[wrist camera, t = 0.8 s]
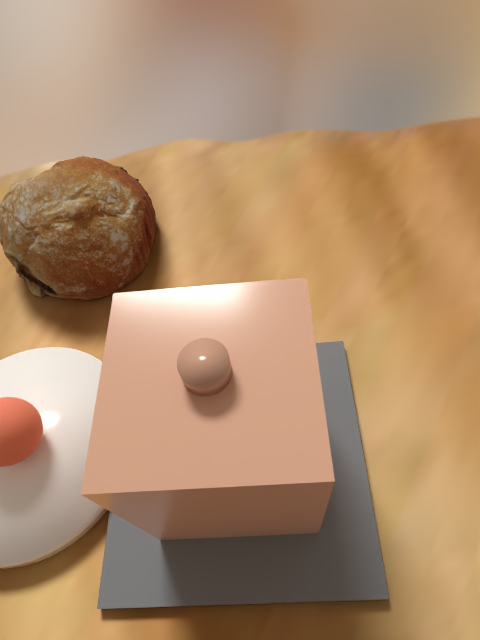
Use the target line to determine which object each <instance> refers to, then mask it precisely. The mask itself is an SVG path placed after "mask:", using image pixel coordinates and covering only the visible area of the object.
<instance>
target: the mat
mask: <svg viewBox="0 0 480 640" xmlns="http://www.w3.org/2000/svg"><path fill="white" fill-rule="evenodd" d="M316 349H317V357H318V364H319V371H320V378H321V385H322V392H323V400H324V407H325V414H326V421H327V428H328V435H329V443H330V450H331V457H332V464H333V471H334V478H335V483H334V486H333V489H332V492H331V496H330V499H329V502H328V505H327V509H326V512H325V515H324V518H323V521H322V525H321V528H320V531H319V533H312V534H290V535H267V536H244V537H222V538H199V539H176V540H159V539H157V538H156V537H154V536H152V535H150V534H149V533H147V532H145V531H143V530H142V529H140V528H138V527H136V526H135V525H133V524H131V523H129V522H128V521H126V520H124V519H122V518H121V517H119V516H117V515H115V514H114V513H112V512H109V519H108V527H107V535H106V543H105V551H104V559H103V567H102V575H101V583H100V591H99V599H98V606H97V609H118V608H147V607H177V606H206V605H236V604H266V603H295V602H325V601H354V600H384V599H389V593H388V588H387V582H386V576H385V571H384V565H383V560H382V554H381V549H380V543H379V538H378V532H377V526H376V521H375V515H374V510H373V504H372V499H371V493H370V488H369V482H368V476H367V471H366V465H365V460H364V454H363V449H362V443H361V437H360V432H359V426H358V421H357V415H356V410H355V404H354V399H353V393H352V387H351V382H350V376H349V371H348V365H347V360H346V354H345V348H344V343H343V341H339V342H326V343H316Z"/></svg>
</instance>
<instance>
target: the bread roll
mask: <svg viewBox="0 0 480 640" xmlns="http://www.w3.org/2000/svg"><path fill="white" fill-rule="evenodd" d="M155 231H156V226H155V210H154V208H153V205H152V202H151V199H150V197H149V196H148V193H147V192H146V191H145V190H144V188H143V187H142V185H141V184H140V183H139V182H138V179H135V178H133V177H132V176H130V175H129V174H128V173H127V171H126V170H124V169H123V168H122V167H118V166H114V165H112V164H110V163H108V162H105V161H103V160H100V159H96V158H89V157H77V158H75V159H71V160H65V161H59V162H58V163H56V164H55V165H54V166H53V167H52V168H51V169H50V170H47V171H44V172H43V173H41V174H39V175H38V176H36V177H34V178H30V179H27V180H24V181H21V182H18V183H15V184H13V185H12V186H11V187H10V189H9V190H8V191H7V193H6V194H5V196H4V197H3V199H2V201H1V203H0V242H1V245H2V246H3V250H4V253H5V255H6V257H7V258H8V259H9V261H10V262H11V263H12V265H13V266H14V267H15V268H16V272H17V273H18V274H19V277H24V278H25V280H26V282H27V285H28V288H29V290H30V291H31V293H32V294H34V295H35V296H39V297H42V296H44V295H50V296H52V297H57V298H69V299H85V300H92V299H97V298H103V297H106V296H109V295H111V294H113V293H115V292H117V291H119V290H120V289H122V288H124V287H125V286H126V285H128V284H129V283H130V282H131V281H133V280H134V279H135V278H136V277H137V276H138V275H139V274H140V273H141V272H142V271H143V270H144V269H145V267H146V265H147V261H148V259H149V257H150V252H151V250H152V246H153V241H154V237H155Z"/></svg>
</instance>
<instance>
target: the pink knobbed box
mask: <svg viewBox="0 0 480 640" xmlns="http://www.w3.org/2000/svg"><path fill="white" fill-rule="evenodd" d="M334 483H335V478H334V471H333V464H332V457H331V450H330V443H329V435H328V428H327V421H326V414H325V407H324V400H323V392H322V385H321V378H320V371H319V364H318V357H317V349H316V342H315V335H314V328H313V321H312V314H311V306H310V299H309V292H308V285H307V278H306V277H304V278H292V279H280V280H268V281H256V282H244V283H232V284H219V285H207V286H195V287H183V288H171V289H159V290H147V291H134V292H122V293H113V299H112V305H111V311H110V317H109V324H108V330H107V336H106V342H105V348H104V354H103V360H102V366H101V373H100V379H99V385H98V391H97V397H96V403H95V409H94V415H93V422H92V428H91V434H90V440H89V446H88V452H87V458H86V464H85V471H84V477H83V483H82V489H81V495H82V496H84V497H86V498H87V499H89V500H91V501H93V502H94V503H96V504H98V505H100V506H101V507H103V508H105V509H107V510H108V511H110V512H112V513H114V514H115V515H117V516H119V517H121V518H122V519H124V520H126V521H128V522H129V523H131V524H133V525H135V526H136V527H138V528H140V529H142V530H143V531H145V532H147V533H149V534H150V535H152V536H154V537H156V538H157V539H159V540H176V539H199V538H222V537H244V536H267V535H290V534H312V533H319V531H320V528H321V525H322V521H323V518H324V515H325V512H326V509H327V505H328V502H329V499H330V496H331V492H332V489H333V486H334Z"/></svg>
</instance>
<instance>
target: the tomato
mask: <svg viewBox="0 0 480 640" xmlns="http://www.w3.org/2000/svg"><path fill="white" fill-rule="evenodd" d="M42 434H43V422H42V418H41V416H40V414H39V412H38V410H37V409H36V408H35V407H34V406H33V405H32V404H30V403H29V402H27V401H25V400H23V399H20V398H16V397H2V398H0V467H5V466H11V465H14V464H17V463H19V462H21V461H23V460H25V459H26V458H27V457H29V456H30V455H31V454H32V453H33V452H34V451H35V449H36V448H37V446H38V445H39V443H40V441H41V438H42Z"/></svg>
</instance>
